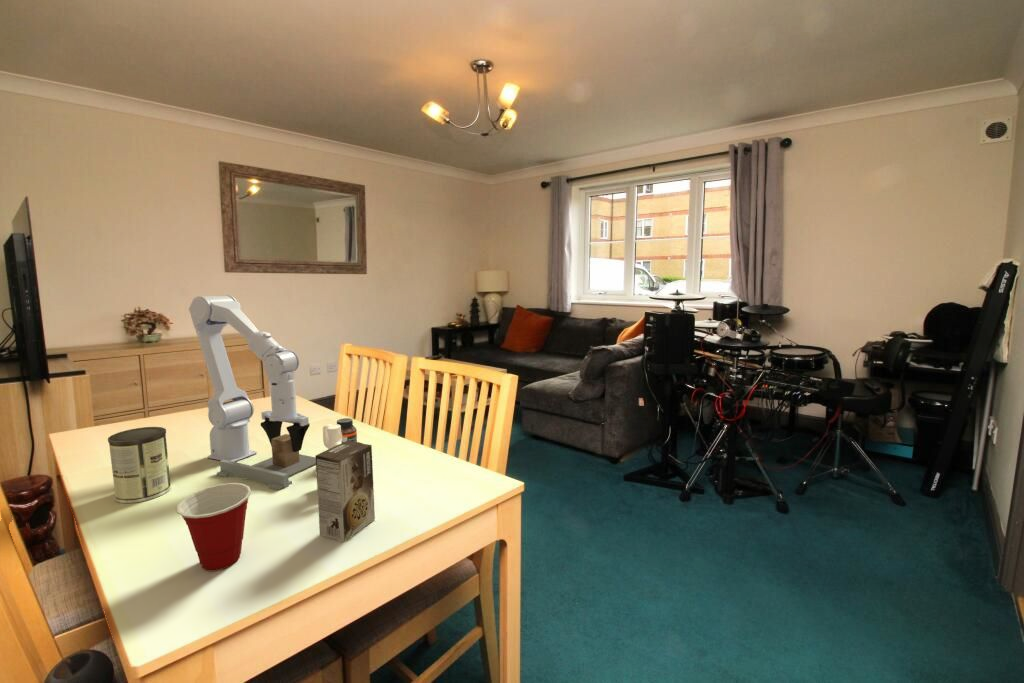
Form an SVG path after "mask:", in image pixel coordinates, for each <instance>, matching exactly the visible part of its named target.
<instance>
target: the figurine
mask: <svg viewBox="0 0 1024 683" xmlns="http://www.w3.org/2000/svg"><path fill="white" fill-rule="evenodd" d="M322 438H323V439H322V440H323V445H324V446H325V448H326V449H327V450H328V449H330V448H333V447H335V446H337V445H339V444H341V443H342V442H341V441H342V439H341V438H342V433H341V426H340V425H338V424H337V423H336V424H335V425H333V424H330V423H329V424H325V425H323V427H322ZM314 474H315V475H316V476H317V473H316V472H314Z"/></svg>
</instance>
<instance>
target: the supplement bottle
mask: <svg viewBox="0 0 1024 683" xmlns="http://www.w3.org/2000/svg"><path fill="white" fill-rule="evenodd" d="M353 423H354V422H353V419H352V418H351V417H349V418H339V419H337V420H336V424H338V425H340V426H341V433H342V438H341V439H342V441H341V442H342V443H343V442H345V441H354V442H358V434H357V433H358V432H357V431H358V430H357V428H356V426H354V425H353Z"/></svg>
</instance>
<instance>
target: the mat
mask: <svg viewBox="0 0 1024 683" xmlns="http://www.w3.org/2000/svg"><path fill="white" fill-rule="evenodd" d="M299 461H300V462H298V463H295V464H293V465H291V466H288V467H286V468H284V467H280V466H275V465H273V459H272V457H269V458H267V459H264V460H262V461H260V462H256V463H254V464H252V465H251V466H255V467H259V468H263V469H268V470H272V471H277V472H281V473H286V474H288V479H290V478H291V477H293V476H296V475H297V474H300V473H301V472H304V471H306V470H309V469H311V468H314V467H316V457H315V456H309V455H306V454H302V453H301V454H300V453H299Z"/></svg>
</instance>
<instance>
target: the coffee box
mask: <svg viewBox="0 0 1024 683" xmlns="http://www.w3.org/2000/svg"><path fill="white" fill-rule="evenodd" d="M372 445H373V444H368V443H367V444H366V443H363V442H358V441H357V442H354V441H345V442H343V443H341V444H339V445H337V446H335V447H333V448H330V449H328V448H327V449H326V450H324V451H322V452H320V453H318V454H316V455H315V456H314V457H316V465H315V470H316V473H317V475H316V486H317V487H316V490H317V508H318V524H319V527H318V528H319V535H320V536H322V537H327V538H330V539H333V540H336V541H341V542H346V541H348V540H350V539H351V538H352V537H353V536H354V535H356V534H357V533H358V532H360V531H361V530H362V529H363V528H365V527H366V526H368V525H370V524H371V523H372V522H373V521H375V519H376V515H375V512H376V511H375V495H374V494H375V493H374V492H375V491H374V470H373V469H374V468H373V466H374V465H373V449H372ZM316 473H315V474H316Z"/></svg>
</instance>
